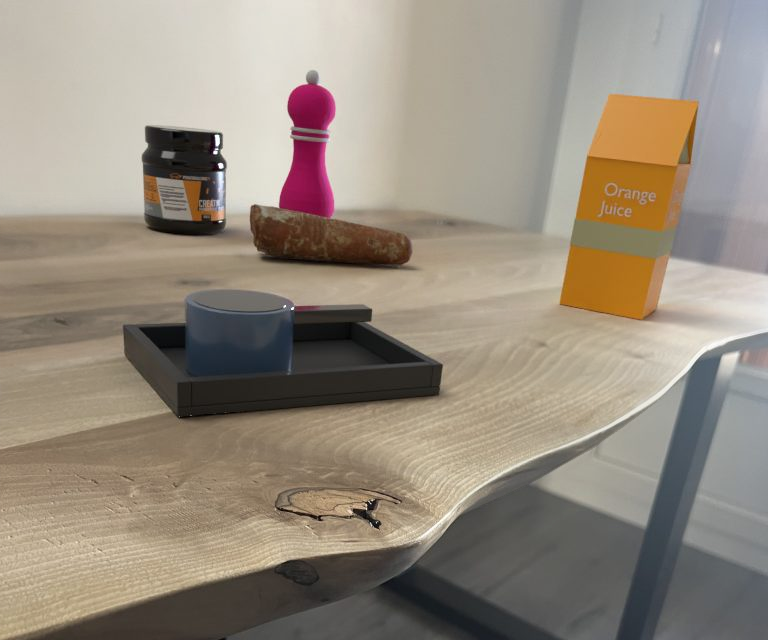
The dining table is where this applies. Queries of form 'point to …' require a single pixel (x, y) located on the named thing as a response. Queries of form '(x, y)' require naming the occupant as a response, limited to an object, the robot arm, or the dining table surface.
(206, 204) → the supplement container
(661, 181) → the orange juice
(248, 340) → the pan
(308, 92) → the pepper mill
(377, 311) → the dining table surface
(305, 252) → the brown elongated bar
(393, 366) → the tray
